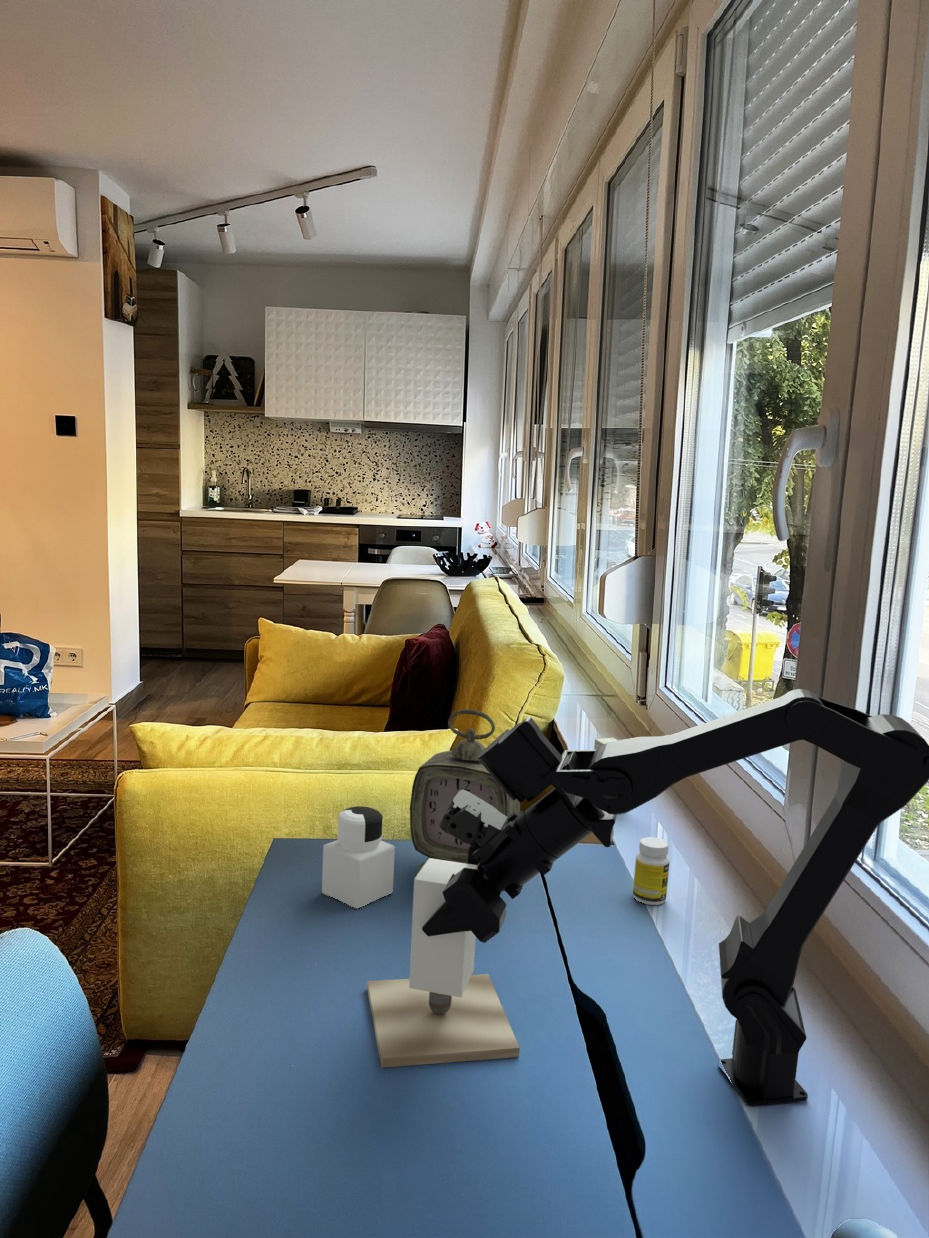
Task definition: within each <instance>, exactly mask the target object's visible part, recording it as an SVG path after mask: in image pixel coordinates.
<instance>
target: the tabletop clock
mask: <svg viewBox="0 0 929 1238" xmlns="http://www.w3.org/2000/svg"><path fill="white" fill-rule="evenodd" d="M460 715H472V716H473V715H474V716H478V717H482V718H483V719H485V720H487V721H488V723H489V724H490V725H491V730H490V731H489V732H487V733H483V734H476V733H475V731H476V730H475V729H474V728H472V727H471V728H468V729H467V732H463V731H461V730H458V729H456V728H455V727H453V725H452V721H453V719H454V718H456V717H457V716H460ZM447 725H448V728H449V729H450V730H451V732H452V733H453V734H455V735H456V736H459V737H461V738H464V739H462V740H460V741H459V742H457V744H455V746H454V747H453V748H452V750H445V751H441V752H438V753H435V754H434V755H432V756H431V758H429V759H427V760H426V761H425V762H424V763H423V764H421V766H419V767H418V769H417V771H416V774H415V776H414V779H413V783H412V787H411V788H412V789H411V796H410V804H409V825H410V826H409V827H410V836H411V841H412V844H413V847H414V849H415V850H414V851H416V852H418V853H420V854H421V855H423V856H425V857H427V859H426V860H425V863H426V862H427V860H428V859H429V858H432V859H439V860H445V861H452V862H459V863H466V864H467V861H468V849H469V847H470V845H469V844H465V843H463V842H462V841H460V840H458V839H457V838H455V837H454V836H452V835H450V834H447V833H446V832H444V831H443V830H442V829H441V828H440V826H439V823H440V822H441V820H442V818H443V816H444V814H445V813H446V811H447V809H448V807H449V805H450V804H451V802H452V800H453V799H454V797H455V796H456V795H457V793H458V792H459V791H460V790H466V791H468V792H470V793H472V794H473V795H475V796H477V797H478V798H480V799H482V800H483V801H485V802H487V803H488V804H490V805H492V806H493V807H495V808H496V809H497V810H498V811H499V812H501V813H502V814H504V815H505V816H507V817H508V816H509V815H511V814H512V813H513V812H514V811H516V810H517V812H519V811H520V810H521V803H520V802H519V801H518V800H517V799H516V800H512V799H511V798H510V797H509V796H508V794H507V793H506V792H505V791H504V790H503V788H502V787H501V786H500V785H499V784H498V783H497V781H496V780H495V779H494V778H493V777H492V776H491V774H490V773H489V772H488V771H487V770H486V769H485V767H484V766H483V765H482V764H481V763H480V762H479V760H478V759H477V757H478V756H479V754H480V753H481V752H482V751H483V750H484V749H485V748H486V747H485V746H484V744H483V743H482V742H481V741H479V740H483V739H487V738H489V737H491V736H492V735H493V734H494V732H495V730H496V725H495V722H494V720H493V719H492V718H491V717H490V716H489V715H488V714H486V713H485V712H482V711H480V710H476V709H469V708H467V709H465V708H464V709H460V710H456V711H454V713H452V714H451V715H449V718H448V720H447ZM425 863H421V864H419V865H418V866H417V874H418V873H419V872H420V870H421V869H422V867H423V866H424V865H425Z"/></svg>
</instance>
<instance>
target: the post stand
mask: <svg viewBox="0 0 929 1238" xmlns="http://www.w3.org/2000/svg"><path fill="white" fill-rule="evenodd" d="M409 982H410V978H400V979H383V980H379V979H378V980H367V984H366V985H367V987H366V989H367V997H368V1002H369V1007H370V1012H371V1017H372V1022H373V1023H372V1024H373V1031H374V1034H375V1041H376V1046H377V1050H378V1051H377V1052H378V1056H379V1062H380V1068H382V1069H383V1068H394V1067H396V1068H397V1067H408V1066H409V1067H410V1066H418V1065H431V1064H434V1065H435V1064H446V1063H447V1064H448V1063H455V1062H459V1063H460V1062H470V1061H471V1062H472V1061H482V1060H483V1061H485V1060H486V1061H487V1060H495V1059H496V1060H497V1059H498V1060H499V1059H507V1058H508V1059H510V1058H519V1057H520V1045H519V1043H518V1040H517V1038H516V1036H515V1033H514V1032H513V1028H512V1027H511V1024H510V1021H509V1019H508V1017H507V1015H506V1012H505V1010H504V1007H503V1005H502V1003H501V1001H500V999H499V998H500V997H499V996H498V993H497V990H496V989H495V985H494V984H493V982H492V980H491V977H490V975H489V973H486V974H483V973H481V974H472V975H471V977H470V980H469V982H468V984H467V986H466V989H465V991H464V993H463V995H462V998H460V997H455V996H449V995H444V994H438V993H433V992H427V991H422V990H417V989H411V988H409Z"/></svg>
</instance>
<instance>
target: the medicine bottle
mask: <svg viewBox="0 0 929 1238" xmlns="http://www.w3.org/2000/svg"><path fill="white" fill-rule="evenodd" d="M383 818H384V817H383V814H382V813H381V812H380V811H379V810H378V809H375V808H373V807H368V806H362V805H361V806H359V805H358V806H350V807H348V808H346V809H343V810H341V811H340V813H338V815H337V836H336V837H337V838H336V839H337V840H334V841H331V842H328V843H325V844H324V845H323V846H322V848H323V851H322V878H321V893H322V894H323V895H325V896H327V897H329V896H330V897H329V898H331V897H333V898H335V899H338V900H339V901H342V902H343V903H342V902H341V903H342V904H344V903H346V904H348V905H349V906H348V905H347V906H348V907H350V906H351V907H350V908H352V907H355V908H359V907H362V906H364V907H366V906H368V905H367V904H369V903H370V902H372V901H374V900H376V899H379V898H380V897H384V896H386V895H388V894H391V893H392V892H393V893H394V878H395V877H394V873H395V856H396V855H395V852H396V847H395V845H394V844H391V843H389V842H385V841H384V840H382V838H383ZM393 893H392V894H393ZM392 894H391V895H392ZM386 897H387V896H386ZM333 898H332V899H333ZM384 898H385V897H384ZM335 899H334V900H335ZM339 901H338V902H339ZM346 904H345V905H346ZM365 905H366V906H365ZM369 905H370V904H369ZM362 908H363V907H362Z"/></svg>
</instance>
